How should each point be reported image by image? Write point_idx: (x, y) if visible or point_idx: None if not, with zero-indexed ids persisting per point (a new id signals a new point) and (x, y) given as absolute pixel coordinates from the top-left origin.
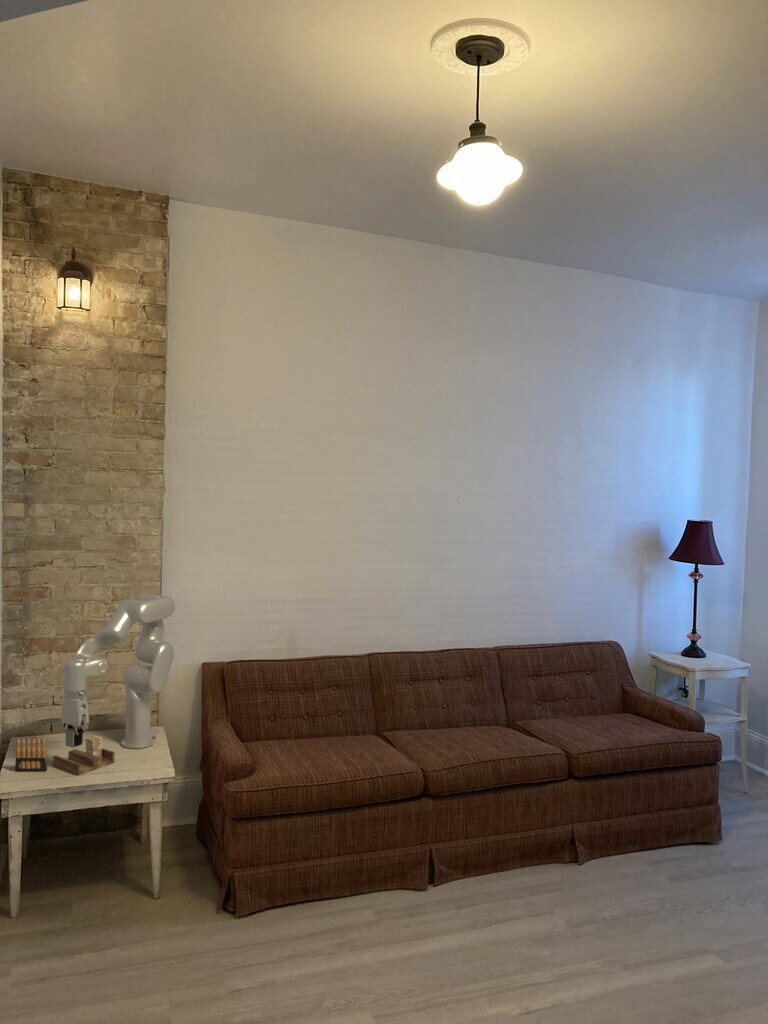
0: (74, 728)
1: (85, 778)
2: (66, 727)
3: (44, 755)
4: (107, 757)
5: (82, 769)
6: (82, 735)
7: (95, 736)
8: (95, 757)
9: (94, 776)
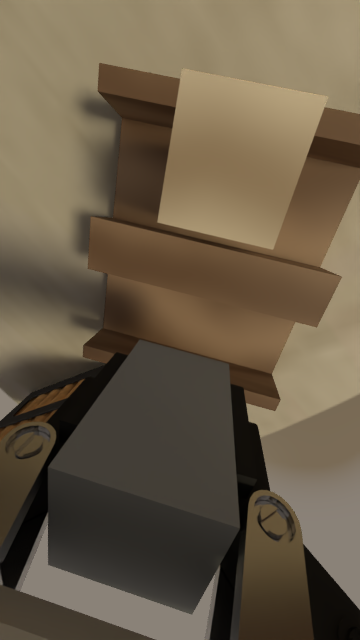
0: (112, 531)
1: (313, 389)
2: (12, 558)
3: None
4: (320, 156)
5: (261, 347)
6: (252, 451)
7: (218, 109)
8: (312, 294)
9: (342, 362)
